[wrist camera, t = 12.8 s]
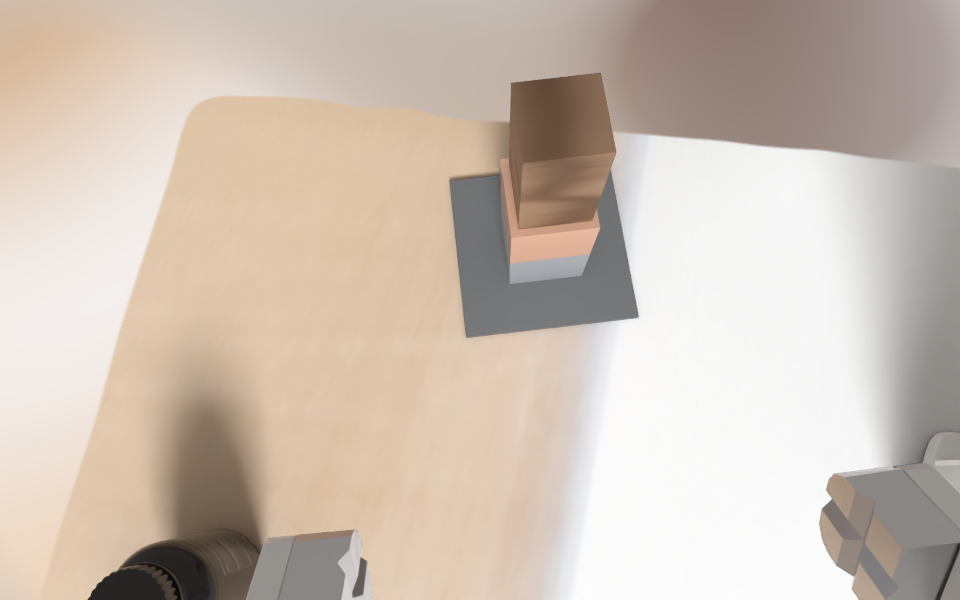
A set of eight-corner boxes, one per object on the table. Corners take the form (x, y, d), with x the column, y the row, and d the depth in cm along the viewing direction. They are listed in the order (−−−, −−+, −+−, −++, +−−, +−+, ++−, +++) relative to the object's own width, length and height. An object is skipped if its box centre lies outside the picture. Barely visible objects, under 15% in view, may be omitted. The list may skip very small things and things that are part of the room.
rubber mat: (608, 164, 54) (609, 162, 54) (637, 317, 50) (638, 316, 50) (449, 183, 54) (449, 181, 54) (466, 337, 50) (466, 336, 50)
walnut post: (580, 155, 43) (600, 72, 34) (592, 221, 41) (616, 152, 33) (509, 163, 43) (511, 83, 34) (518, 229, 41) (522, 163, 33)
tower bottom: (570, 209, 52) (577, 182, 48) (581, 275, 51) (589, 254, 46) (500, 217, 52) (500, 191, 48) (509, 284, 51) (510, 263, 46)
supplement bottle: (170, 541, 46) (61, 561, 35) (259, 519, 47) (180, 531, 35) (178, 641, 44) (66, 696, 33) (271, 617, 45) (192, 664, 33)
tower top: (577, 182, 48) (586, 148, 43) (589, 254, 46) (600, 227, 41) (500, 191, 48) (500, 158, 43) (510, 263, 46) (511, 238, 41)
